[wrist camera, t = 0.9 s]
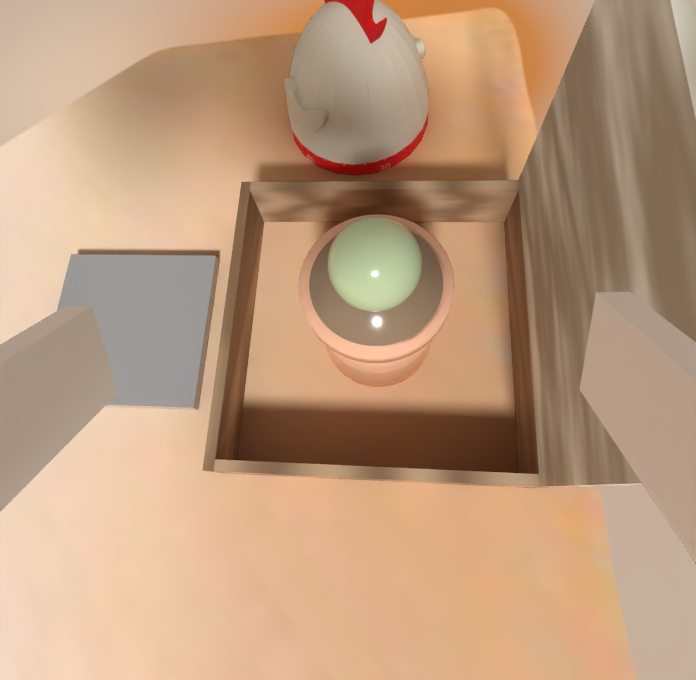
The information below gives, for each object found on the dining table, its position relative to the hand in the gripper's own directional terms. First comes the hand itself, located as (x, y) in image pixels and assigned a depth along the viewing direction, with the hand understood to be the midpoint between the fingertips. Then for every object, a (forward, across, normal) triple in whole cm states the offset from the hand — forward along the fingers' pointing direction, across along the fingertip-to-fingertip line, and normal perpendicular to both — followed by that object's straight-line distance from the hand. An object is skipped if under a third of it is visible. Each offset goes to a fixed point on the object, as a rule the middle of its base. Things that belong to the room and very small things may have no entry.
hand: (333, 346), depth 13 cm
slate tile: (+26, -22, -11) cm, 36 cm away
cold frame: (+26, 0, -12) cm, 29 cm away
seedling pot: (+26, 0, -12) cm, 29 cm away
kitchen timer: (+42, -2, +5) cm, 43 cm away
